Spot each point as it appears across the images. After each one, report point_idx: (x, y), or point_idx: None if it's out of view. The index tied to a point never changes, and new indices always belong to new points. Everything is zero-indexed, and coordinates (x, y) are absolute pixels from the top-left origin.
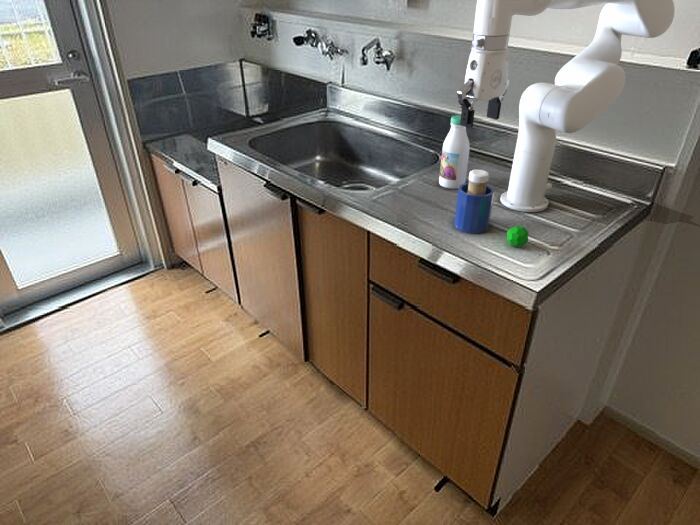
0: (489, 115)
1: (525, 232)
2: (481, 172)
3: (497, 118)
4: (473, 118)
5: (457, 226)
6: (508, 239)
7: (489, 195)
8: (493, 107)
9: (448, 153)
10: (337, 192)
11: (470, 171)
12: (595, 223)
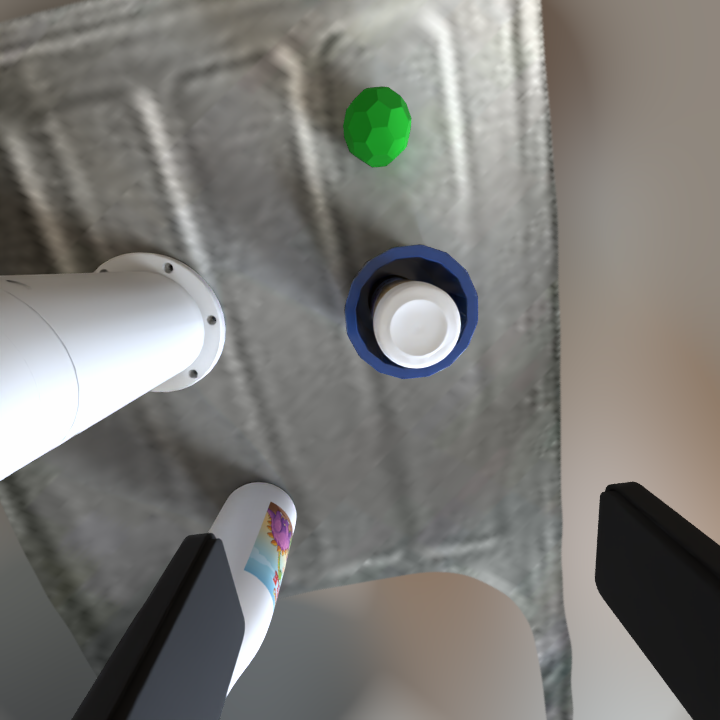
0: (232, 622)
1: (375, 89)
2: (409, 323)
3: (206, 538)
4: (695, 550)
5: None
6: (408, 136)
7: (411, 245)
8: (182, 704)
9: (271, 591)
10: (541, 604)
11: (437, 361)
12: (45, 95)
